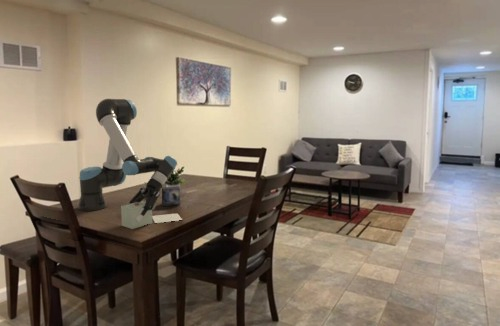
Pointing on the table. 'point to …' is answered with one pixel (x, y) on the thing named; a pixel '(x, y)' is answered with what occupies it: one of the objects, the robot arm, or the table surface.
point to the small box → (170, 196)
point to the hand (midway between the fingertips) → (131, 218)
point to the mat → (166, 218)
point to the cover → (135, 215)
